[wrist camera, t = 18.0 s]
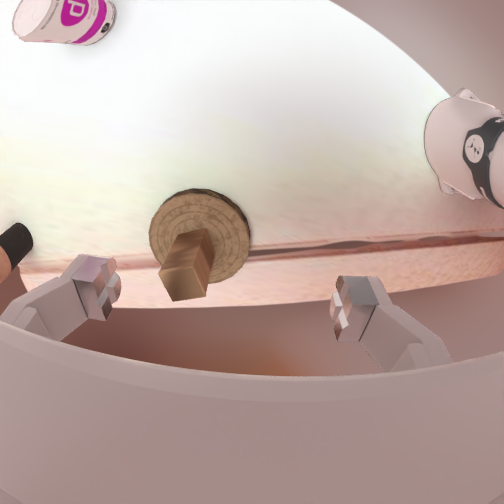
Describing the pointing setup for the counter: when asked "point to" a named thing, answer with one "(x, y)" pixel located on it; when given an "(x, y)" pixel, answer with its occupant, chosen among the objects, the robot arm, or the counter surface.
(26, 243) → the travel mug
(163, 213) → the wood slice
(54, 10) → the supplement can
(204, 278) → the walnut block
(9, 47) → the counter surface
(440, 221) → the counter surface
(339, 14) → the counter surface
